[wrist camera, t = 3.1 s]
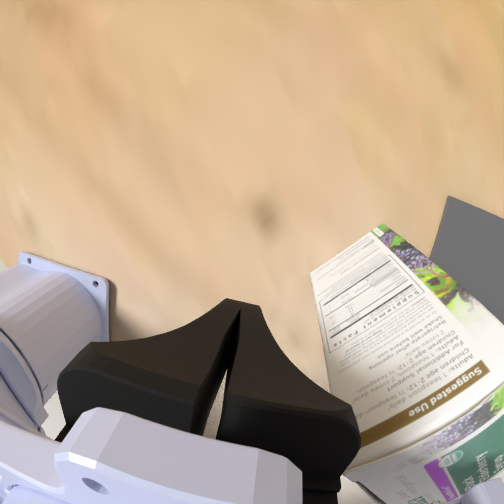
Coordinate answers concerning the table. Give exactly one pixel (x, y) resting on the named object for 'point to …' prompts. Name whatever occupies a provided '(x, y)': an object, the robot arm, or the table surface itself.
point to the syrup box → (412, 371)
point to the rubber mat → (473, 252)
